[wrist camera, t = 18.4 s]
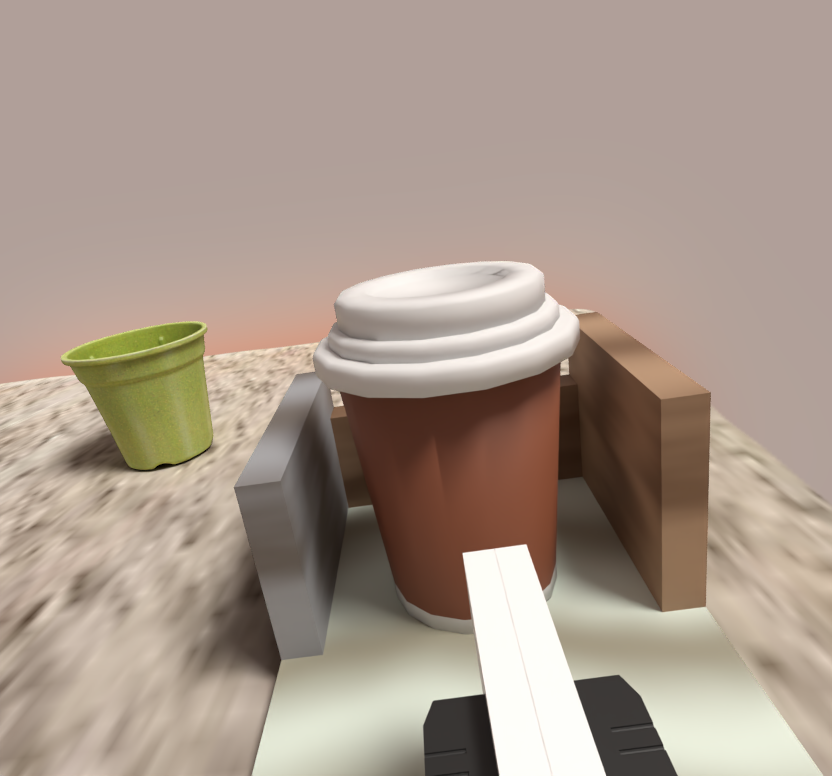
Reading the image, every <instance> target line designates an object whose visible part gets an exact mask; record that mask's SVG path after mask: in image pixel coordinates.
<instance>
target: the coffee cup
mask: <svg viewBox="0 0 832 776" xmlns="http://www.w3.org/2000/svg"><path fill="white" fill-rule="evenodd" d="M334 308H335V312H336V318H337V322H336V323H334V324H333V326H332V328H331V330H330V332H329V334H328V337H326V338H324V339H323V340H321V341H320V343H319V345H318V347H317V349H316V350H315V352H314V355H313V362H314V367H315V372H316V376H317V377H318V378H319V379H320V380H321V381H322V382H323V383H324V384H325V385H326V386H327V387H328V388H329V389H332V390H336V391H340V394H341V397H342V401H343V404H344V408H345V411H346V415H347V418H348V421H349V425H350V428H351V432H352V435H353V439H354V442H355V446H356V449H357V453H358V456H359V460H360V463H361V467H362V470H363V474H364V477H365V481H366V484H367V488H368V491H369V495H370V498H371V502H372V505H373V509H374V512H375V516H376V519H377V523H378V526H379V530H380V533H381V537H382V540H383V544H384V547H385V550H386V554H387V557H388V561H389V564H390V568H391V571H392V575H393V578H394V582H395V587H396V592H397V597H398V598H399V600H400V601H401V603H402V604H403V606H404V607H405V609H406V611H407V612H408V614H409V615H410V616H412V617H414V618H416V619H417V620H419V621H421V622H422V623H424V624H426V625H428V626H429V627H431V628H433V629H437V630H443V631H449V632H455V633H460V634H466V635H467V634H474V633H473V626H472V618H471V611H470V604H469V597H468V589H467V582H466V575H465V568H464V560H463V553H466V552H473V551H481V550H488V549H495V548H503V547H510V546H517V545H525V544H526V545H527V548H528V551H529V554H530V557H531V559H532V562H533V565H534V568H535V571H536V574H537V577H538V580H539V583H540V585H541V588H542V591H543V594H544V597H545V600H546V602H547V601H548V600H549V599H550V598H551V597H552V593H553V590H554V586H555V582H556V578H557V568H556V543H557V499H558V454H559V409H560V364H561V362H562V361H564V360H565V359H567V358H569V357H571V356H572V355H573V353H574V351H575V349H576V347H577V344H578V342H579V340H580V327H579V320H578V318H577V316H575V315H574V314H573V313H572V312H571V311H569V310H568V309H567V308H566V307H565V306H562V305H558V303H557V301H555V300H554V299H553V298H552V297H551V296H550V295H548V294H547V293H545V286H544V274H543V273H542V272H540V271H539V270H538V269H536V268H535V267H534V266H532V265H531V264H527V263H519V262H511V261H490V262H472V263H460V264H449V265H443V266H435V267H428V268H421V269H415V270H410V271H405V272H400V273H395V274H391V275H386V276H382V277H379V278H376V279H372V280H368V281H365V282H362V283H359V284H357V285H354V286H352V287H350V288H348V289H346V290H344V291H342V292H341V294H340V295H339V297H338V298H337V300H336V301H335V303H334Z"/></svg>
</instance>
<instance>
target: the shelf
mask: <svg viewBox="0 0 832 776" xmlns="http://www.w3.org/2000/svg"><path fill="white" fill-rule="evenodd" d="M575 316H577V318H578V320H579V327H580V340H579V342H578V344H577V347H576V349H575V351H574V353H573V355H572V356H571V357H569V358H568V359H569V375H562V376H560V409H559V454H558V499H557V543H556V568H557V578H556V582H555V586H554V590H553V593H552V597H551V598H550V599H549V600H548V601H547V602H546V603H547V606H548V609H549V612H550V614H551V617H552V620H553V623H554V626H555V629H556V632H557V635H558V638H559V641H560V643H561V646H562V649H563V652H564V655H565V658H566V661H567V664H568V667H569V670H570V672H571V675H572V678H573V681H574V680H581V679H589V678H596V677H604V676H612V675H620V676H621V677H622V678H623V679H624V680H625V681H626V682H627V683H628V684H629V685H630V686H631V687H632V688H633V689H634V690H635V691H636V692H637V693H638V694H639V695H640V696H641V698H642V700H643V702H644V704H645V706H646V708H647V710H648V713H649V715H650V717H651V719H652V721H653V725H654V728H656V730H657V732H658V734H659V736H660V738H661V741H662V743H663V746H664V749H665V750H666V751H667V753H668V756H669V758H670V760H671V762H672V764H673V766H674V769H675V771H676V773H677V775H678V776H823V775H822V773H821V772H820V770H819V769H818V767H817V766H816V765H815V763H814V762H813V760H812V759H811V757H810V756H809V755H808V753H807V752H806V750H805V749H804V747H803V746H802V744H801V743H800V742H799V740H798V739H797V737H796V736H795V734H794V733H793V732H792V730H791V729H790V727H789V726H788V724H787V723H786V721H785V720H784V719H783V717H782V716H781V714H780V713H779V711H778V710H777V709H776V707H775V706H774V704H773V703H772V701H771V700H770V699H769V697H768V696H767V694H766V693H765V691H764V690H763V688H762V687H761V686H760V684H759V683H758V681H757V680H756V678H755V677H754V676H753V674H752V673H751V671H750V670H749V668H748V667H747V665H746V664H745V663H744V661H743V660H742V658H741V657H740V655H739V654H738V653H737V651H736V650H735V648H734V647H733V645H732V644H731V643H730V641H729V640H728V638H727V637H726V635H725V634H724V632H723V631H722V630H721V628H720V627H719V625H718V624H717V622H716V621H715V620H714V618H713V617H712V615H711V614H710V612H709V611H708V609H707V608H706V572H707V529H708V487H709V444H710V402H711V398H710V397H711V393H710V392H709V391H708V390H706V389H705V388H703V387H702V386H701V385H699V384H698V383H696V382H695V381H694V380H692V379H691V378H689V377H688V376H686V375H685V374H684V373H682V372H681V371H679V370H678V369H677V368H675V367H674V366H672V365H671V364H669V363H668V362H667V361H665V360H664V359H663V358H661V357H660V356H658V355H657V354H655V353H654V352H653V351H651V350H650V349H648V348H647V347H646V346H644V345H643V344H641V343H640V342H639V341H637V340H636V339H634V338H633V337H631V336H630V335H629V334H627V333H626V332H624V331H623V330H622V329H620V328H619V327H617V326H616V325H614V324H613V323H612V322H610V321H609V320H607V319H606V318H605V317H603V316H602V315H600V314H599V313H598V312H593V313H586V314H579V315H575ZM234 489H235V493H236V497H237V500H238V504H239V507H240V511H241V515H242V518H243V522H244V526H245V529H246V533H247V537H248V540H249V544H250V547H251V551H252V555H253V558H254V562H255V566H256V569H257V573H258V576H259V580H260V584H261V587H262V591H263V595H264V598H265V602H266V606H267V609H268V613H269V616H270V620H271V624H272V627H273V631H274V635H275V638H276V642H277V646H278V649H279V653H280V656H281V664H280V668H279V672H278V676H277V679H276V683H275V687H274V691H273V695H272V699H271V703H270V707H269V710H268V714H267V718H266V722H265V726H264V730H263V734H262V738H261V741H260V745H259V749H258V753H257V757H256V761H255V765H254V769H253V772H252V776H425V763H424V759H425V757H424V739H423V724H424V722H425V719H426V717H427V714H428V712H429V709H430V707H431V704H432V702H433V701H434V700H442V699H449V698H457V697H465V696H472V695H480V694H483V691H482V684H481V678H480V672H479V666H478V660H477V653H476V647H475V640H474V634H467V635H466V634H460V633H455V632H449V631H443V630H437V629H433V628H431V627H429V626H428V625H426V624H424V623H422V622H421V621H419V620H417V619H416V618H414V617H412V616H410V615H409V614H408V612H407V611H406V609H405V607H404V606H403V604H402V603H401V601H400V600H399V598H398V597H397V592H396V587H395V582H394V578H393V575H392V571H391V568H390V564H389V561H388V557H387V554H386V550H385V547H384V544H383V540H382V537H381V533H380V530H379V526H378V523H377V519H376V516H375V512H374V509H373V505H372V502H371V498H370V495H369V491H368V488H367V484H366V481H365V477H364V474H363V470H362V467H361V463H360V460H359V456H358V453H357V449H356V446H355V442H354V439H353V435H352V432H351V428H350V425H349V421H348V418H347V415H346V411H345V408H344V406H340V407H334V406H333V401H332V396H331V391H330V389H329V388H328V387H327V386H326V385H325V384H324V383H323V382H322V381H321V380H320V379H319V378H318V377H317V376H316V372H310V373H303V374H297V375H296V376H295V378H294V380H293V382H292V384H291V385H290V387H289V389H288V391H287V393H286V394H285V396H284V398H283V400H282V402H281V403H280V405H279V407H278V409H277V411H276V412H275V414H274V416H273V418H272V420H271V421H270V423H269V425H268V427H267V429H266V430H265V432H264V434H263V436H262V438H261V439H260V441H259V443H258V445H257V447H256V448H255V450H254V452H253V454H252V456H251V457H250V459H249V461H248V463H247V465H246V466H245V468H244V470H243V472H242V474H241V475H240V477H239V479H238V481H237V483H236V484H235V486H234Z"/></svg>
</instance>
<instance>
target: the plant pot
mask: <svg viewBox="0 0 832 776" xmlns="http://www.w3.org/2000/svg"><path fill="white" fill-rule="evenodd" d="M206 332H207V325H206V324H205V323H202V322H180V323H169V324H162V325H156V326H150V327H146V328H141V329H136V330H132V331H128V332H123V333H120V334H115V335H112V336H108V337H105V338H101V339H98V340H95V341H91V342H88V343H85V344H83V345H80V346H78V347H75V348H74V349H71V350H69V351H68V352H66V353H64V354H63V355H62V356H61V361H62V363H63V364H64V365H67V366H70V367H71V368H72V370H73V371H74V373H75V375H76V377H77V378H78V380H79V381H80V382H81V383H82V384H84V385H85V386H86V388H87V390H88V391H89V393H90V395H91V397H92V399H93V401H94V402H95V404H96V406H97V408H98V410H99V412H100V414H101V415H102V417H103V419H104V421H105V423H106V425H107V427H108V428H109V430H110V432H111V434H112V436H113V438H114V440H115V442H116V444H117V446H118V448H119V450H120V452H121V453H122V455H123V457H124V459H125V461H126V463H127V465H128V466H129V467H131V468H134V469H140V470H149V469H154V468H155V467H156V466H158V465H160V464H163V463H171V464H177V463H181V462H184V461H187V460H189V459H190V458H192V457H194V456H196V455H198V454H200V453H202V452H203V451H205V450H206V449H207V448H208V447H209V446H210V445H211V442H212V438H213V429H212V422H211V415H210V408H209V400H208V393H207V385H206V378H205V370H204V362H203V354H204V352H205V345H204V334H205V333H206Z"/></svg>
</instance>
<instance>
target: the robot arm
mask: <svg viewBox="0 0 832 776" xmlns="http://www.w3.org/2000/svg"><path fill="white" fill-rule="evenodd" d="M463 560H464V568H465V575H466V582H467V589H468V597H469V604H470V611H471V618H472V626H473V633H474V640H475V647H476V653H477V660H478V666H479V672H480V678H481V684H482V691H483V694H480V695H472V696H465V697H457V698H449V699H442V700H434V701H433V702H432V704H431V707H430V709H429V712H428V714H427V717H426V719H425V722H424V724H423V739H424V757H425V759H424V763H425V776H678V775H677V773H676V771H675V769H674V766H673V764H672V762H671V760H670V758H669V756H668V753H667V751H666V750H665V749H664V746H663V743H662V741H661V738H660V736H659V734H658V732H657V730H656V728H654V725H653V721H652V719H651V717H650V715H649V713H648V710H647V708H646V706H645V704H644V702H643V700H642V698H641V696H640V695H639V694H638V693H637V692H636V691H635V690H634V689H633V688H632V687H631V686H630V685H629V684H628V683H627V682H626V681H625V680H624V679H623V678H622V677H621V676H620V675H612V676H604V677H596V678H589V679H581V680H574V681H573V678H572V675H571V672H570V670H569V667H568V664H567V661H566V658H565V655H564V652H563V649H562V646H561V643H560V641H559V638H558V635H557V632H556V629H555V626H554V623H553V620H552V617H551V614H550V612H549V609H548V606H547V603H546V600H545V597H544V594H543V591H542V588H541V585H540V583H539V580H538V577H537V574H536V571H535V568H534V565H533V562H532V559H531V557H530V554H529V551H528V548H527V545H526V544H525V545H517V546H510V547H503V548H495V549H488V550H481V551H473V552H466V553H463Z"/></svg>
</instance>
